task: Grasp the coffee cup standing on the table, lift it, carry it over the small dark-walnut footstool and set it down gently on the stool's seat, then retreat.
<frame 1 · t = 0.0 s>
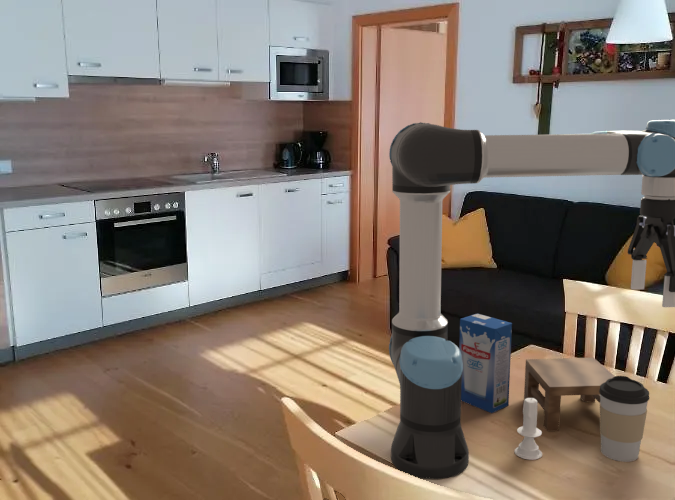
hand: (652, 297, 141), 28 cm above the table, fingers open, 13 cm apart
milk carton: (483, 403, 157), on the table
coffee cup: (619, 453, 133), on the table
candle: (528, 454, 134), on the table
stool: (570, 413, 151), on the table
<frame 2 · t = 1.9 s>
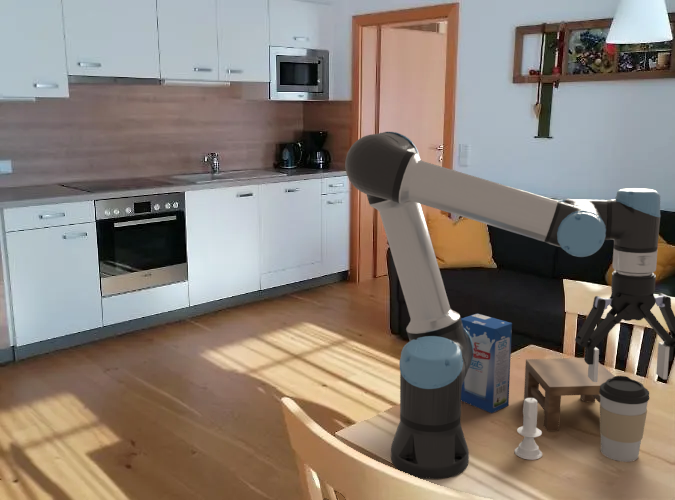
hand: (627, 378, 130), 16 cm above the table, fingers open, 13 cm apart
nothing on the table moved.
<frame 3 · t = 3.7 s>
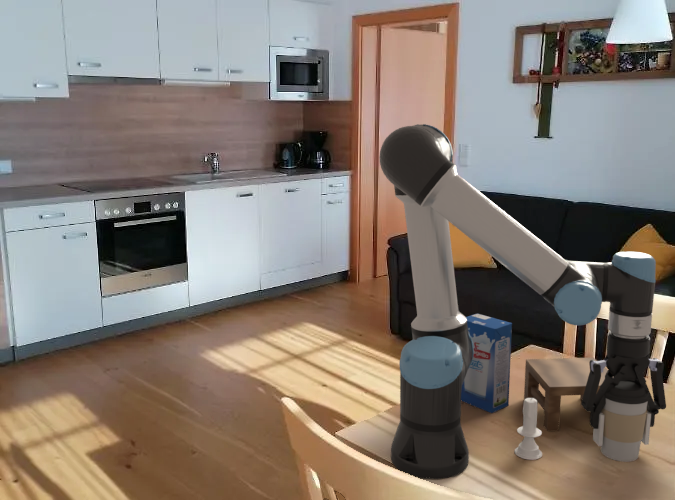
hand: (620, 441, 133), 2 cm above the table, fingers closed on coffee cup, 8 cm apart
coffee cup: (619, 453, 133), on the table, touching gripper
everything else where it was.
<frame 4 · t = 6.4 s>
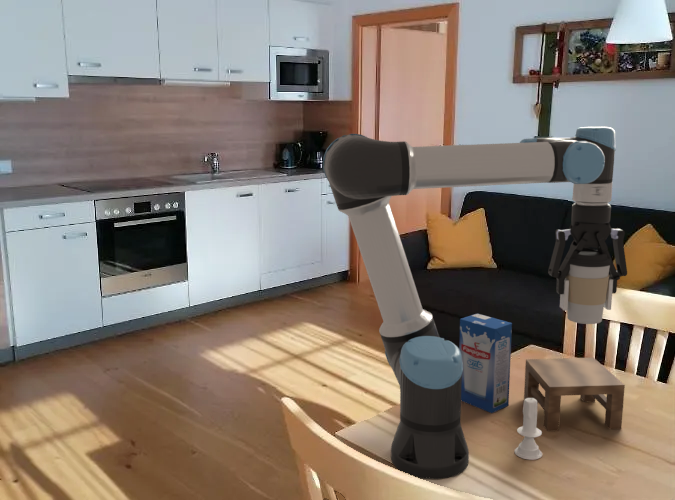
hand: (585, 308, 143), 25 cm above the table, fingers closed on coffee cup, 8 cm apart
coffee cup: (584, 320, 143), point 23 cm above the table, touching gripper
everything else where it was.
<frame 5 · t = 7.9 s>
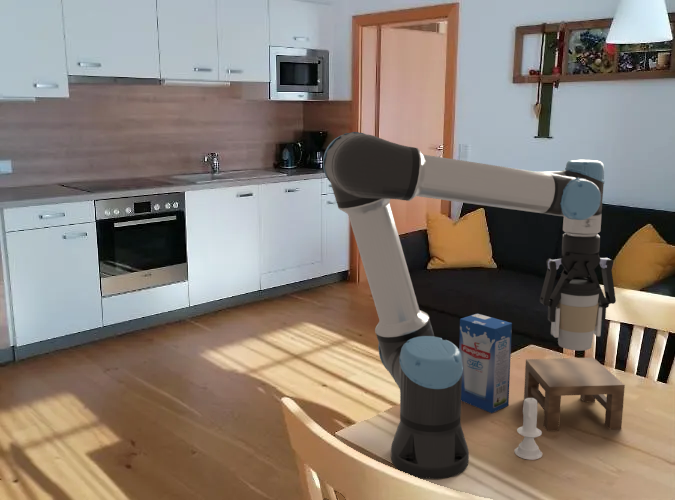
hand: (575, 334, 147), 19 cm above the table, fingers closed on coffee cup, 8 cm apart
coffee cup: (574, 346, 148), point 16 cm above the table, touching gripper
everything else where it was.
when the fingers open (14 cm above the table, at t = 9.2 s): coffee cup drops 1 cm, resting on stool.
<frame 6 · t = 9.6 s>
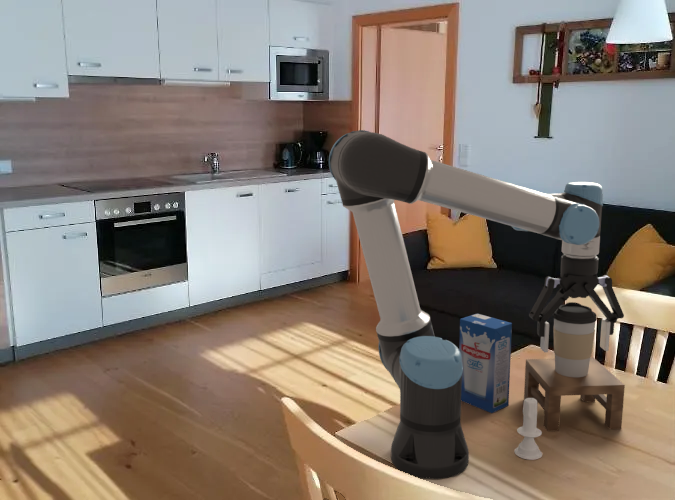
hand: (574, 349, 148), 15 cm above the table, fingers open, 13 cm apart
coffee cup: (571, 372, 149), point 10 cm above the table, touching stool
everything else where it was.
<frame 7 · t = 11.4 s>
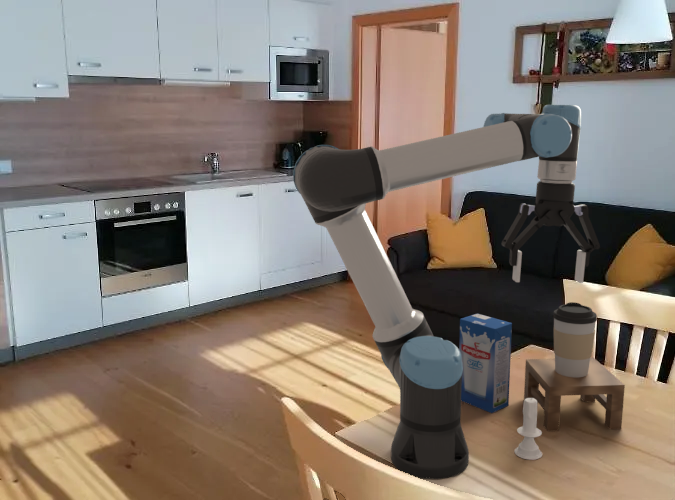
hand: (547, 281, 143), 31 cm above the table, fingers open, 13 cm apart
nothing on the table moved.
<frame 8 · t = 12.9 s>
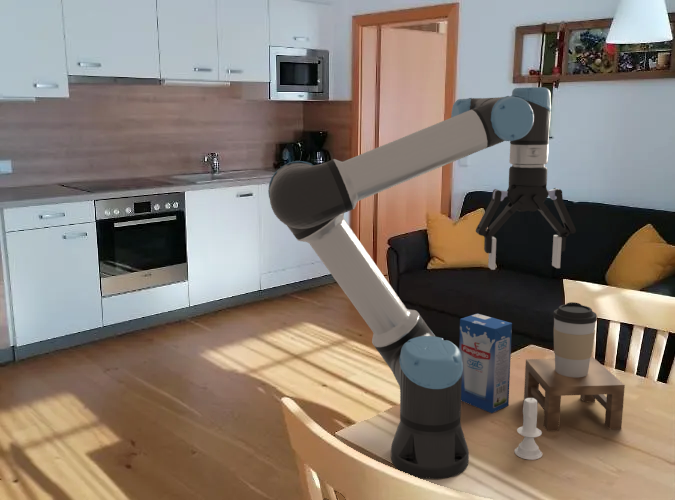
hand: (523, 267, 140), 35 cm above the table, fingers open, 13 cm apart
nothing on the table moved.
at the end: coffee cup inside the target area on the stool (0.3 cm from its centre), point 9.8 cm above the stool's base; coffee cup tilted 0°; coffee cup touching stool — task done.
